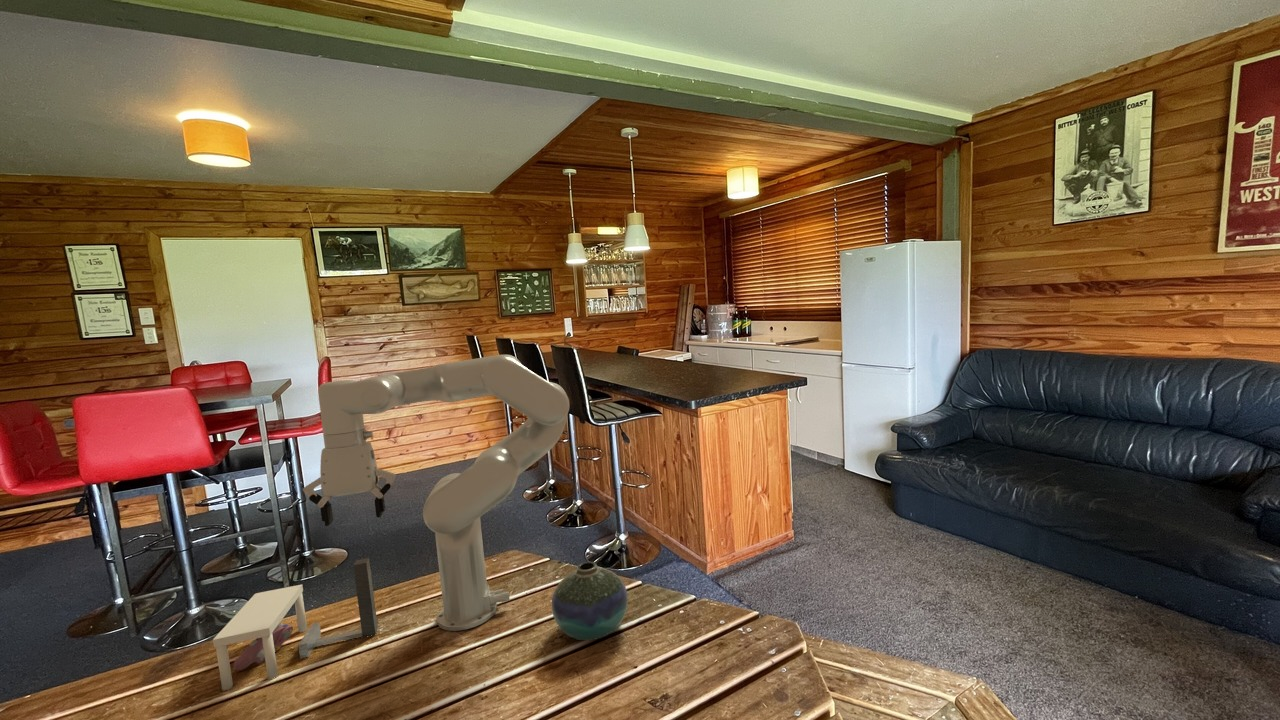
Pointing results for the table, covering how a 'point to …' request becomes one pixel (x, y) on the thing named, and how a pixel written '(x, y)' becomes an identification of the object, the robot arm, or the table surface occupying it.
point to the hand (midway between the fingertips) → (354, 519)
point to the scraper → (365, 611)
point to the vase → (589, 602)
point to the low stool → (259, 627)
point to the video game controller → (256, 650)
